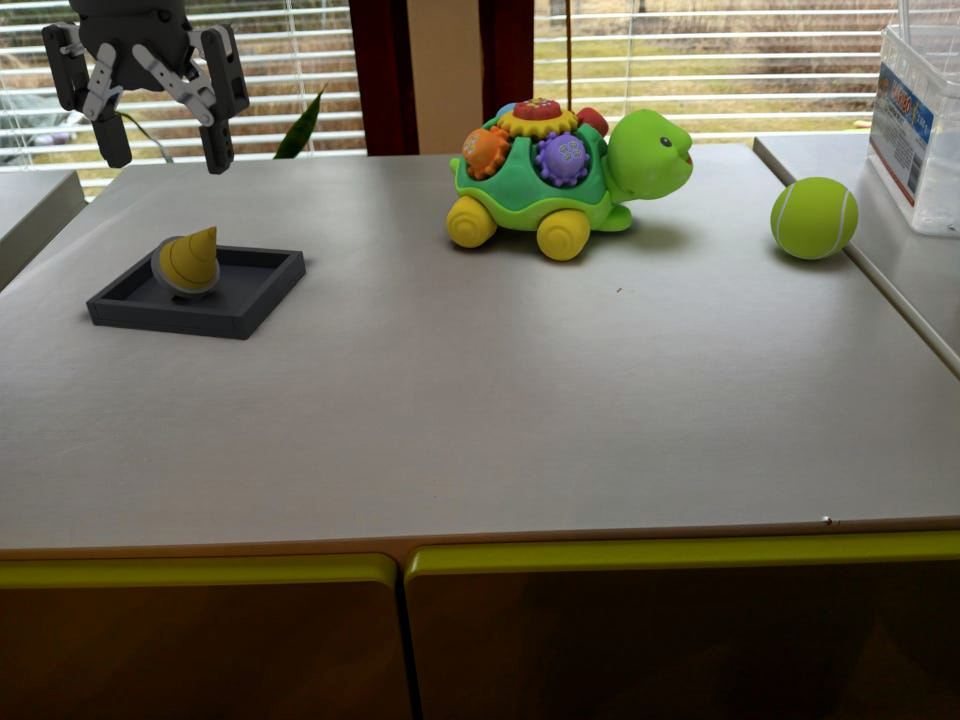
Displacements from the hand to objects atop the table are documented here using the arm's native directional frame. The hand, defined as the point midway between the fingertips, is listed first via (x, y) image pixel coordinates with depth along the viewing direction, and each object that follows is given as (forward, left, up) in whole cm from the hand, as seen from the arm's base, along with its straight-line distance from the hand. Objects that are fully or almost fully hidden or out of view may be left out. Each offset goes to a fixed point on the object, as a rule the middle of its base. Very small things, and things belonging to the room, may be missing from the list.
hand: (170, 168), depth 61 cm
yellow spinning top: (0, 0, -11) cm, 11 cm away
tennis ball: (+50, +16, -12) cm, 54 cm away
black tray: (0, 0, -11) cm, 11 cm away
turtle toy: (+28, +19, -12) cm, 36 cm away
